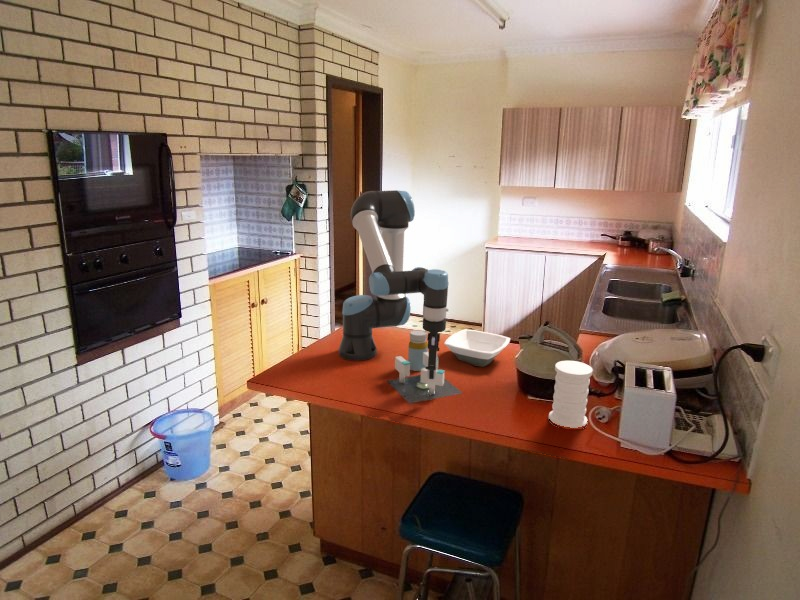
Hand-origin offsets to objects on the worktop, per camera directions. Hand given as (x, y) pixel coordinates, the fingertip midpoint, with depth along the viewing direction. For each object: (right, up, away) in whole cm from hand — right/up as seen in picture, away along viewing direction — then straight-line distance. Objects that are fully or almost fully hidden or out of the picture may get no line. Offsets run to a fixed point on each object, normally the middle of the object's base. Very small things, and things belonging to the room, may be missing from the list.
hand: (431, 377), depth 185 cm
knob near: (-10, -3, +9) cm, 14 cm away
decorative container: (+42, -12, -13) cm, 45 cm away
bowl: (+20, +2, +33) cm, 39 cm away
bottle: (-4, -1, +23) cm, 23 cm away
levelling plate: (-2, -5, +7) cm, 9 cm away
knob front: (0, -5, +1) cm, 6 cm away
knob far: (0, -2, +14) cm, 14 cm away
